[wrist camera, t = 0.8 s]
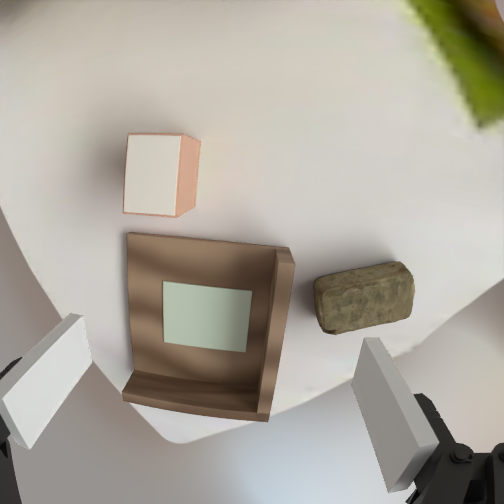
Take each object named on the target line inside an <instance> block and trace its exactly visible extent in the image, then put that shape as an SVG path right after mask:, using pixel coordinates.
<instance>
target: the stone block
mask: <svg viewBox="0 0 504 504" xmlns="http://www.w3.org/2000/svg"><path fill="white" fill-rule="evenodd" d="M314 289H315V308H316V316H317V320H318V323H319V325H320V327H321V329H322V330H323V332H325V333H328V334H333V335H337V334H341V333H344V332H348V331H355V330H358V329H362V328H367V327H371V326H376V325H380V324H386V323H392V322H396V321H398V320H402V319H406V318H408V317H409V316H410V314H411V312H412V306H413V298H414V293H415V286H414V279H413V275H412V274H411V272H410V271H409V270H408V269H407V268H406V266H405V265H404V264H403V263H401V262H391V263H387V264H379V265H376V266H371V267H367V268H359V269H355V270H349V271H345V272H342V273H336V274H331V275H327V276H324V277H321V278H318V279H317V280H316V281H315V287H314Z"/></svg>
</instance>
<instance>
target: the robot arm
mask: <svg viewBox="0 0 504 504" xmlns="http://www.w3.org/2000/svg"><path fill="white" fill-rule="evenodd" d="M91 363H92V358H91V354H90V349H89V344H88V340H87V335H86V330H85V325H84V319H83V315H77V314H72V313H70V314H69V315H68V316H67V317H66V318H65V319H63V320H62V321H61V322H60V323H59V324H58V325H57V326H56V327H55V328H54V329H52V330H51V331H50V332H49V333H48V334H47V335H46V336H45V337H44V338H43V339H42V340H41V341H40V342H39V343H37V344H36V345H35V347H33V348H32V349H31V350H30V351H29V352H28V353H27V354H26V355H25V356H24V357H23V358H22V357H20V358H18V359H16V360H14V361H12V362H11V363H10V364H9V365H8V366H7V367H6V368H5V370H3V371H2V372H1V373H0V504H22V503H21V499H20V495H19V491H18V486H17V482H16V477H15V472H14V467H13V461H12V455H11V448H10V444H9V441H8V439H7V438H8V436H9V435H10V434H11V435H12V437H13V439H14V440H15V442H16V443H17V444H19V445H21V446H23V447H25V448H27V449H31V447H32V446H33V444H34V443H35V441H36V440H37V438H38V437H39V436H40V434H41V433H42V431H43V429H44V428H45V427H46V425H47V424H48V422H49V421H50V420H51V418H52V417H53V415H54V414H55V412H56V411H57V410H58V408H59V407H60V405H61V404H62V402H63V401H64V400H65V398H66V397H67V396H68V394H69V393H70V391H71V390H72V389H73V387H74V386H75V385H76V383H77V382H78V381H79V379H80V378H81V377H82V375H83V374H84V372H85V371H86V370H87V368H88V367H89V366H90V364H91ZM351 385H352V388H353V390H354V393H355V396H356V399H357V402H358V404H359V407H360V410H361V413H362V416H363V418H364V421H365V424H366V427H367V430H368V433H369V436H370V439H371V441H372V444H373V448H374V451H375V454H376V456H377V460H378V463H379V465H380V469H381V472H382V475H383V478H384V481H385V484H386V487H387V491H388V493H391V492H396V491H401V490H405V489H407V488H408V487H409V486H410V485H411V483H412V482H413V481H414V483H415V485H416V489H415V491H414V492H413V493H412V494H411V496H410V497H409V498H408V499H407V500H406V503H407V504H504V443H499V444H498V445H496V446H495V448H494V449H493V450H492V452H491V453H474V452H473V450H472V449H470V447H468V446H466V445H464V444H460V443H456V442H455V440H454V439H453V437H452V435H451V433H450V431H449V430H448V428H447V426H446V425H445V423H444V421H443V419H442V418H440V414H439V413H438V411H436V408H435V406H434V404H433V403H432V401H431V400H430V399H428V398H427V397H426V396H425V395H423V394H422V393H420V394H412V392H411V390H410V389H409V387H408V385H407V383H406V381H405V380H404V378H403V376H402V375H401V373H400V371H399V370H398V368H397V366H396V365H395V363H394V361H393V359H392V358H391V356H390V354H389V353H388V351H387V349H386V348H385V346H384V345H383V343H382V341H381V340H380V338H379V337H378V338H364V340H363V344H362V348H361V351H360V355H359V359H358V363H357V366H356V370H355V374H354V377H353V380H352V384H351Z"/></svg>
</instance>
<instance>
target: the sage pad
mask: <svg viewBox="0 0 504 504" xmlns="http://www.w3.org/2000/svg"><path fill="white" fill-rule="evenodd" d="M251 298H252V291H250V290H240V289H230V288H221V287H212V286H203V285H194V284H185V283H177V282H169V281H163V316H164V342H167V343H173V344H180V345H187V346H195V347H202V348H210V349H219V350H227V351H237V352H246V344H247V335H248V326H249V316H250V307H251Z"/></svg>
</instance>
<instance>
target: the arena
mask: <svg viewBox="0 0 504 504" xmlns="http://www.w3.org/2000/svg"><path fill="white" fill-rule="evenodd" d="M294 268H295V262H294V260H293V257H292V254H291V252H290V249H289V248H287V247H277V246H267V245H257V244H247V243H237V242H227V241H217V240H207V239H197V238H187V237H176V236H166V235H155V234H145V233H134V232H130V233H128V234H127V272H128V298H129V316H130V329H131V341H132V352H133V361H134V372H133V373H132V375H131V377H130V379H129V380H128V382H127V384H126V386H125V388H124V389H123V391H122V396H123V401H127V402H131V403H135V404H140V405H144V406H149V407H154V408H159V409H164V410H170V411H176V412H182V413H188V414H195V415H202V416H209V417H217V418H226V419H236V420H247V421H260V422H268V420H269V415H270V410H271V405H272V400H273V395H274V389H275V384H276V378H277V373H278V367H279V362H280V356H281V350H282V345H283V339H284V333H285V327H286V320H287V314H288V308H289V302H290V295H291V288H292V282H293V275H294ZM163 281H169V282H177V283H185V284H194V285H203V286H212V287H221V288H230V289H240V290H250V291H252V298H251V307H250V316H249V326H248V335H247V344H246V352H237V351H227V350H219V349H210V348H202V347H195V346H187V345H180V344H173V343H167V342H164V316H163Z"/></svg>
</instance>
